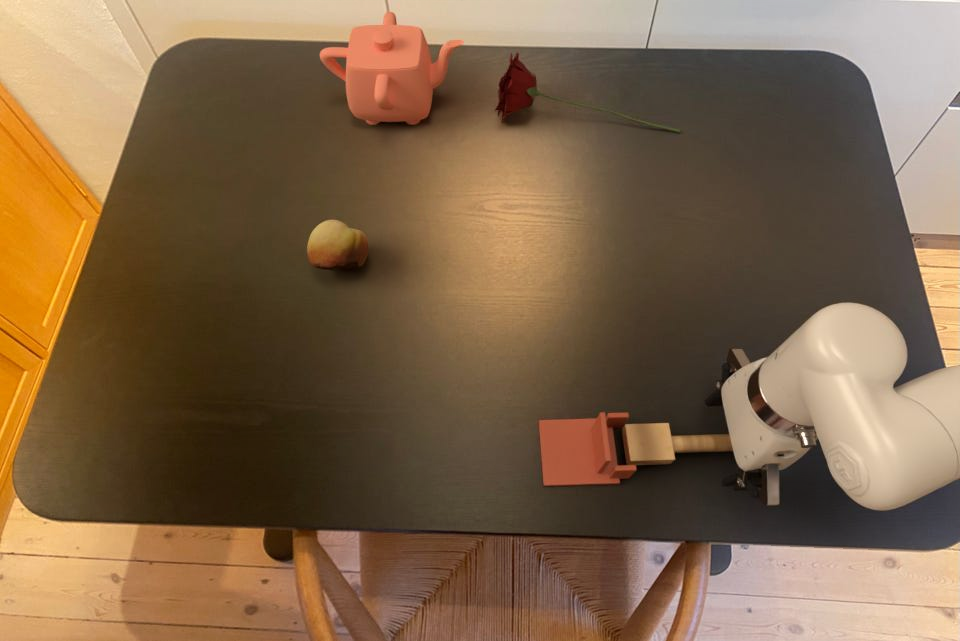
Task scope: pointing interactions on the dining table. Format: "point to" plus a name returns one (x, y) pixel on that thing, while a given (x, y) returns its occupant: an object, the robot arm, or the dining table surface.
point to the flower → (534, 93)
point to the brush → (666, 443)
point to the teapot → (389, 71)
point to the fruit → (337, 246)
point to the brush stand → (582, 451)
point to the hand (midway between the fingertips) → (725, 442)
